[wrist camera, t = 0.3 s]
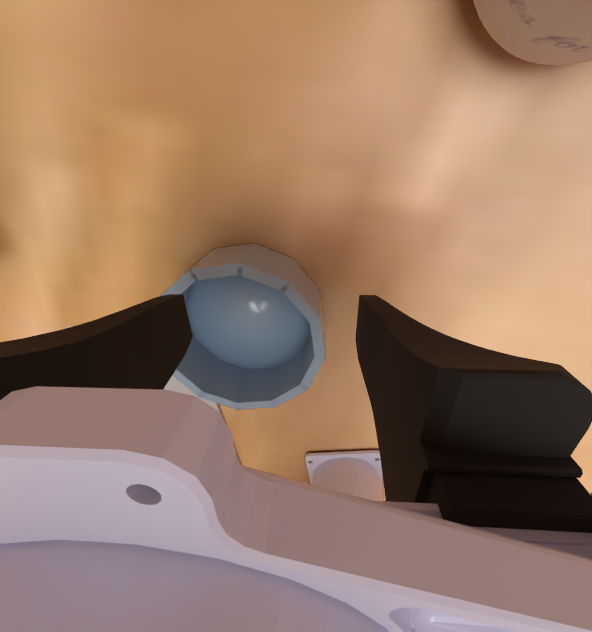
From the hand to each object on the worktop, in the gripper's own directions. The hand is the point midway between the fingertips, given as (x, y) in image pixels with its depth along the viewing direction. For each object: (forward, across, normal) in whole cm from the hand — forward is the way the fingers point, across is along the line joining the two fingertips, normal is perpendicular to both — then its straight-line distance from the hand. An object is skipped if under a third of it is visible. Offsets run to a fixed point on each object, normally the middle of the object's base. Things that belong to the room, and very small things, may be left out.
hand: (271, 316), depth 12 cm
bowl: (+10, +3, +5) cm, 12 cm away
